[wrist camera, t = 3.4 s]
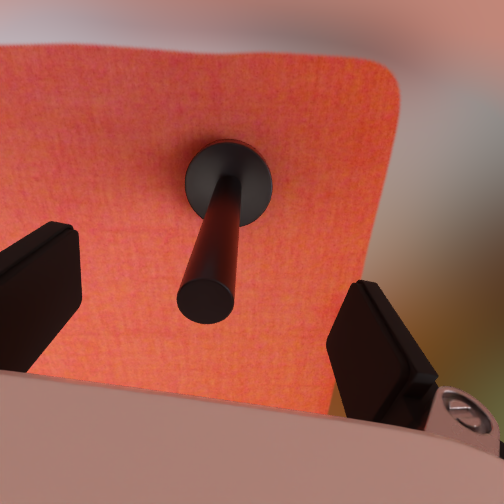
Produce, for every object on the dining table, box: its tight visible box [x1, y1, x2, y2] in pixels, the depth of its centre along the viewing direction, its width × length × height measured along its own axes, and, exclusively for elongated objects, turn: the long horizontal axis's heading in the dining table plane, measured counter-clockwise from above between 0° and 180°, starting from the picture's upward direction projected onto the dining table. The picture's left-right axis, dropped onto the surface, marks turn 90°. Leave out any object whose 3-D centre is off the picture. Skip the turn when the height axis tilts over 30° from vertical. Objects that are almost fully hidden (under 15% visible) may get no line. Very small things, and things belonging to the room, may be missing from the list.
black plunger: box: [177, 139, 272, 324], centre depth 16 cm, size 6×6×14 cm
